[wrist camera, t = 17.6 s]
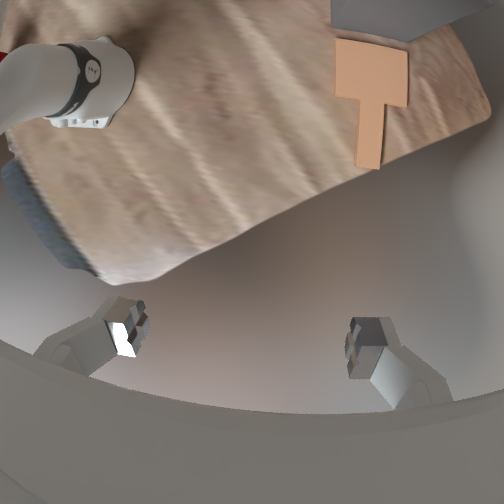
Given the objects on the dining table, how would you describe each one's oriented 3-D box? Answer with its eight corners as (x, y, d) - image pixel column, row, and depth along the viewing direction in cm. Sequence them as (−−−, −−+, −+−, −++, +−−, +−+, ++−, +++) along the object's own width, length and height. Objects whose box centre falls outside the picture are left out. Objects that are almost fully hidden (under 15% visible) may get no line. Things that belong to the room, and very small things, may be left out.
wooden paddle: (330, 162, 44) (331, 164, 43) (334, 40, 35) (335, 38, 33) (397, 170, 43) (401, 172, 42) (403, 53, 33) (407, 51, 32)
